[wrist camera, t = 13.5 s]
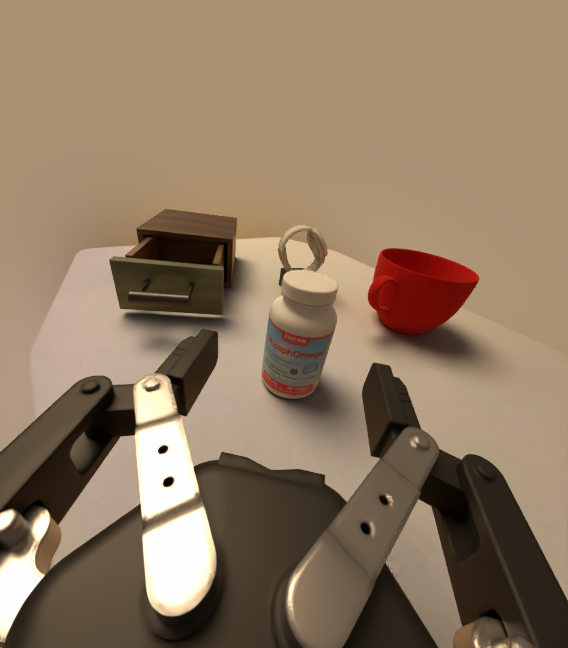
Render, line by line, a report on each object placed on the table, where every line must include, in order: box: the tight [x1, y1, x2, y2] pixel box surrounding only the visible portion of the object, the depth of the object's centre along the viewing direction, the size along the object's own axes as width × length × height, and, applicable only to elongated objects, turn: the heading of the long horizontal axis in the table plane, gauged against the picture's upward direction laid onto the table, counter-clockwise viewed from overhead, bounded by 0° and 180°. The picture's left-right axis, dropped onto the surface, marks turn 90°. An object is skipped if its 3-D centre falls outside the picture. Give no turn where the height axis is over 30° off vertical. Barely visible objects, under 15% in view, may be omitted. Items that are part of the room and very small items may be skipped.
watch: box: [278, 225, 328, 286], centre depth 43 cm, size 6×8×11 cm
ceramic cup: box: [368, 248, 479, 335], centre depth 38 cm, size 13×17×10 cm
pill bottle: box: [262, 270, 338, 399], centre depth 24 cm, size 6×6×11 cm
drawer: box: [109, 235, 226, 315], centre depth 36 cm, size 19×12×6 cm, turn 7°
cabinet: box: [137, 209, 237, 287], centre depth 47 cm, size 16×14×8 cm
